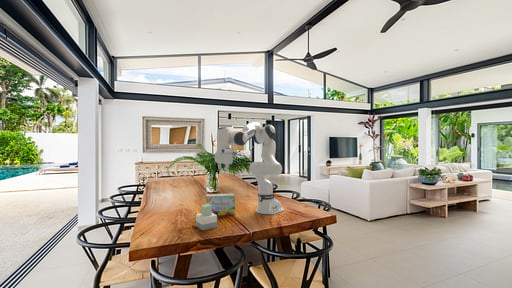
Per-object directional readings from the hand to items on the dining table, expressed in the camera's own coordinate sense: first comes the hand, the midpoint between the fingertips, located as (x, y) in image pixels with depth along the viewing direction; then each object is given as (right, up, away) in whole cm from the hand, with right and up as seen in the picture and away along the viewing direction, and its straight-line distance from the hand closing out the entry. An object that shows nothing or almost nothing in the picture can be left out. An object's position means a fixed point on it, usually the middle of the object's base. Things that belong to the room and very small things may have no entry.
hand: (223, 169), depth 167 cm
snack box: (-4, -35, +12) cm, 37 cm away
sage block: (-9, -28, -13) cm, 32 cm away
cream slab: (-9, -32, -14) cm, 36 cm away
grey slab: (-9, -36, -13) cm, 39 cm away
